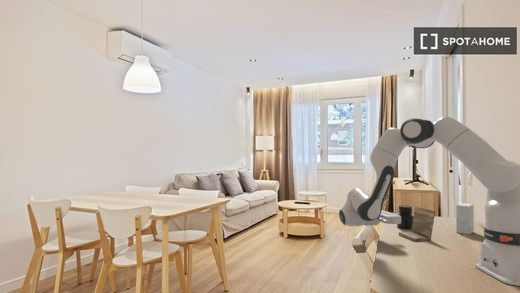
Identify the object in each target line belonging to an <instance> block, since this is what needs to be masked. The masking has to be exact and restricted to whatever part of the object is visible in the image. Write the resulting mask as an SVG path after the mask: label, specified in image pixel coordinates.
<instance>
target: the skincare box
mask: <svg viewBox="0 0 520 293" xmlns="http://www.w3.org/2000/svg"><path fill="white" fill-rule="evenodd" d="M474 206H475V205H474V204H472V203H464V202H460V203H458V204H456V206H455V208H456V210H455V211H456V213H455V214H456V215H455V218H456V220H455V221H456V223H455V225H456V230H455V231H456V233H457V232H458V234H462V233H463V235H468V236H469V235H470V234H472V233H474V231H475V228H474V227H475V225H474V224H475V222H474V220H475V216H474V215H475V214H474V213H475V211H474V210H475V209H474V208H475V207H474Z"/></svg>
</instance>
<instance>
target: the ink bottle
mask: <svg viewBox="0 0 520 293" xmlns="http://www.w3.org/2000/svg"><path fill="white" fill-rule="evenodd" d="M398 212H399V213H398V214H399V216H401V223H400V224H396V226H397V228H399V229H402V230H403V229H404V230H412V224H413V218H414V214H413V206H411V205H406V204H405V205H398Z"/></svg>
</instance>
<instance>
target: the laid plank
mask: <svg viewBox="0 0 520 293" xmlns="http://www.w3.org/2000/svg"><path fill="white" fill-rule="evenodd" d="M398 236H400V237H402V238H405V239H407V240H409V241H413V242H416V243H417V242H427V241H429V240H428V237H426V236H423V235H420V234H417V233H414V232H412V231H411V230H410V231H399V232H398Z"/></svg>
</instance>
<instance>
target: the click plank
mask: <svg viewBox="0 0 520 293" xmlns="http://www.w3.org/2000/svg"><path fill="white" fill-rule="evenodd" d="M413 216H414V218H413V224H412V229H410V231H412V232H414V233H417V234H420V235H423V236H426V237H428V241H431V240H432V234H433V228H434V224H435V218H436V217H435V216H436V211H435V210H431V209H427V208H422V207H418V206H415V208H414V212H413Z"/></svg>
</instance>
